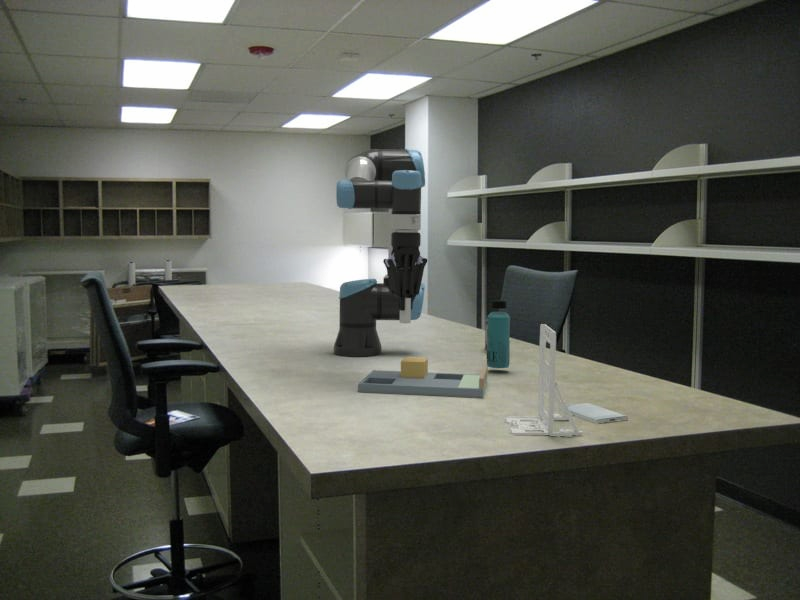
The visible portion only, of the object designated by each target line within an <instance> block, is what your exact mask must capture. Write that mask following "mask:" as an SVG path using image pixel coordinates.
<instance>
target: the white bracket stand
mask: <svg viewBox="0 0 800 600" xmlns="http://www.w3.org/2000/svg"><path fill="white" fill-rule="evenodd" d="M539 327H540V328H539V329H540V330H539V349H538V350H539V352H538V353H539V354H538V355H539V358H538V359H539V360H538V361H539V363H538V392H537V393H538V395H537V415H536V416H534V415H533V416H532V415H531V416H527V415H526V416H525V415H520V416H507V417H505V418H504V419H503V422H504V423H506V424H508V423H510V424H511V425H510V424H509V425H510V426H512V427H509V428H508V429H507V431H508V433H509V434H511V435H514V434H515V435H514V436H527V435H550V436H549V437H551V436H557V437H556V438H561V437H560V436H566V437H565V438H573V436H572V435H576V436H575V437H583V433H584V432H583V431H582V430H579V429H578V426H577V424H576V422H575V420H574V417H573V415H571V413H570V411H569V409H568V407H567V405H568V404H567V402H565V400H564V398H563V396H562V393H561V391H560V389H559V387H558V381H557V380H556V364H557V363H556V361H557V360H556V357H557V356H556V354H557V332H556V331H555V330H553V329H552V328H551V327H550V326H548V325H547V324H546V323H545V324H544V323H541V324H540V325H539ZM547 343H548V344H549V346H550V347H549V363H548V361H546V360H547V353H546V348H547V347H546V346H547ZM545 392H546V393H547V394H548V410H546V409H545ZM555 401H556V403H557V405H558V407H560V410H561V411H560V412H561V414H562V415H560V414H559V413H555ZM563 407H564V408H563ZM564 409H565V410H564ZM565 411H566V412H565ZM520 420H530V421H520ZM531 420H532V421H531ZM554 420H569V421H568V422H570V424H571V426H572V428H573V430H572V429H562V428H560V429H558V430H557V431H554V430H555V428H554V427H555V426H554V424H555V423H554V422H555V421H554ZM537 421H538V422H537ZM533 425H534V426H533ZM525 430H541V431H525ZM543 431H544V432H543Z"/></svg>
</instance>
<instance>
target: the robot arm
mask: <svg viewBox="0 0 800 600" xmlns="http://www.w3.org/2000/svg"><path fill="white" fill-rule="evenodd" d="M344 176H345V179H342V180H338V181H337V183H336V186H335V187H336V189H335V190H336V193H335V194H336V195H335V198H336V206H337V207H338V208H341V209H348V210H352V209H375V210H376V209H383V210H385V209H386V210H387V209H388V247H387V248H388V250H387V251H388V258H383V261H382V262H383V265H384V266H385V268H386V272H387V273H386V274H385V275H384V276H383V279H382V280H383V281H382V282H383V283H380V282H379V283H378V281H377V279H376V278H367V279H365V278H364V279H357V280H350V281H345V282H343V283H341V285H340V286H339V296H338V300H339V324H338V325H339V328H338V333H337V335H336V339H335V342H334V344H333V354H335V355H338V356H343V357H372V356H378V355H380V354H382V349H383V348H382V343H381V340H380V337H379V334H378V331H377V321H399V323H400V324H401V323H402V324H411V321H416V320H418V319H419V318H421V315H422V311H423V305H424V298H425V289H426V288H425V287H426V286H425V284H424V283H422V280H423V276H424V272H425V271H424V270H425V268H426V265H427V263H428V258H426V257H423V256H422V255H421V251H420V246H421V242H422V241H421V239H422V238H421V233H420V232H419V231H420V230H421V227H422V225H421V224H422V223H421V221H422V219H421V217H422V214H421V213H422V211H421V209H422V208H421V205H422V188H423V187H425V186H426V177H425V176H426V173H425V165H424V159H423V155H422V153H421V151H419V150H417V149H408V148H405V149H404V148H403V149H402V148H400V149H398V148H397V149H395V148H393V149H390V148H387V149H384V148H383V149H382V148H381V149H378V148H374V149H373V148H372V149H367V150H364V151H361V152H359V153H357V154H355V155H354V156H351V158H350V159H349V160H348V161H347V162H346V165H345V168H344Z"/></svg>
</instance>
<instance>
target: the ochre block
mask: <svg viewBox="0 0 800 600" xmlns="http://www.w3.org/2000/svg"><path fill="white" fill-rule="evenodd" d="M428 365H429V359H428V357H427V358H426V357H424V358H423V357H404V358H403V359H402V360H401V361H400V371H401V377H413V378H425V376H426V375H427V374H428V372H429V371H428V370H429V367H428Z"/></svg>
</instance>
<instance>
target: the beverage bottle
mask: <svg viewBox="0 0 800 600" xmlns="http://www.w3.org/2000/svg"><path fill="white" fill-rule="evenodd" d="M491 309H507V301H506V300H504V299H503V300H502V299H495V300H494V299H493V300H491ZM487 319H488V329H487V352H486V365H488V368H490V369H491V368H492V369H508V368H509V366H510V356H511V355H510V354H511V353H510V351H511V350H510V343H511V341H510V329H511V327H510V323H511V321H510V320H511V316H510V315H509V314H508V313H507V312H505V311H491V312H490V313H489V314H488V315H487Z"/></svg>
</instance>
